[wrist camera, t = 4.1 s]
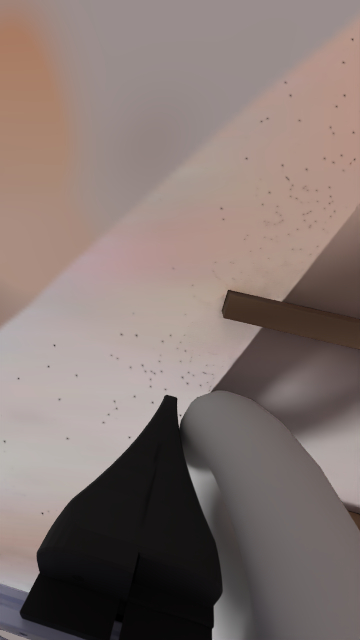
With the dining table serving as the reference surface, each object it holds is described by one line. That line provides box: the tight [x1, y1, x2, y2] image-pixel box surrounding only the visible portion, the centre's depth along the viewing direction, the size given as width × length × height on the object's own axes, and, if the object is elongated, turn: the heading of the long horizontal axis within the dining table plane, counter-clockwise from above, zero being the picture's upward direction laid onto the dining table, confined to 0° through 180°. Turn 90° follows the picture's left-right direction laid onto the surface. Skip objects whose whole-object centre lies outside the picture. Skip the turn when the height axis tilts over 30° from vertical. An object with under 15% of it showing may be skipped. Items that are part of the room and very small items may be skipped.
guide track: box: [222, 290, 360, 531], centre depth 11 cm, size 16×18×2 cm
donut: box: [179, 391, 360, 640], centre depth 8 cm, size 10×4×10 cm, turn 176°
